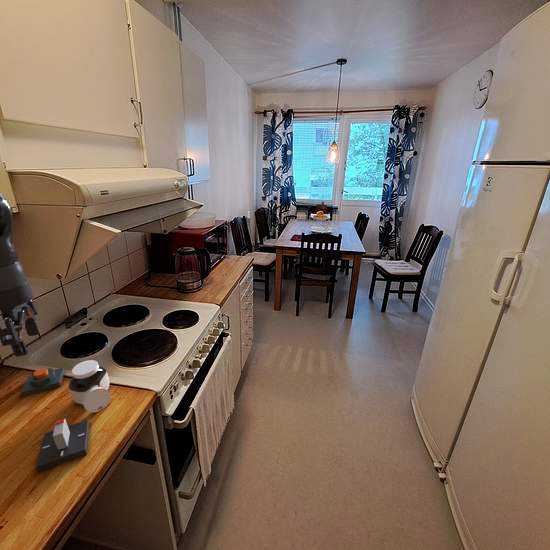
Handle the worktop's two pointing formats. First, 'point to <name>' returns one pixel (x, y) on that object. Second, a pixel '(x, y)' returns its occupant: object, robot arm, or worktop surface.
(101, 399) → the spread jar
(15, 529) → the worktop surface
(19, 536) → the worktop surface
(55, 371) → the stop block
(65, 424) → the knob
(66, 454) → the fryer panel
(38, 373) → the stop button
